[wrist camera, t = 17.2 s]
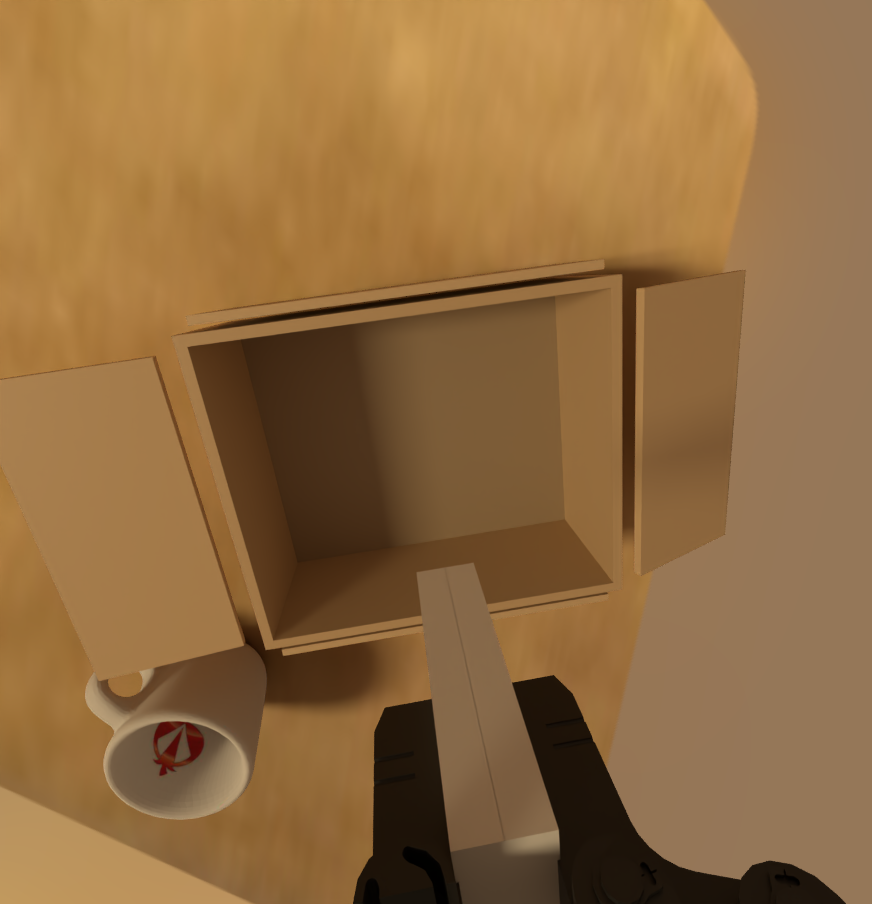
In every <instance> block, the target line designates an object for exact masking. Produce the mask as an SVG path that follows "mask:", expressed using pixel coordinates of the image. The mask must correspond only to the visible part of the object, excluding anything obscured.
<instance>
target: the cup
mask: <svg viewBox="0 0 872 904" xmlns="http://www.w3.org/2000/svg"><path fill="white" fill-rule="evenodd" d="M139 672H140V673H141V675H142V678H143V685H142V688H141V690H140V692H139V693H138V694H136V695H134V696H131V697H121V696H118V695H116V694H115V693H113V692H112V691H111V689H110V688H109V685H108V679H106V680H102V681H99V680H98V678H97V676H96V674H95V672H94V673H93V674H92V676H91V678H90V679H89V681H88V684H87V687H86V692H85V699H86V702H87V705H88V706H89V708H90V710H91V711H92V712H93V713H94V714H95V715H96V716H98V717H99V718H100V719H101V720H103V721H104V722H106V723H107V724H109V725H110V726H111V727H112V728H113V729H114V736H113V737H112V739H111V741H110V742H109V744H108V746H107V749H106V752H105V756H104V773H105V776H106V780H107V782H108V784H109V786H110V787H111V789H112V790H113V791H114V793H115V794H116V795H117V796H118V797H119V798H120V799H121V800H122V801H124V802H125V803H126V804H128V805H129V806H131V807H133V808H134V809H136V810H138V811H140V812H143V813H146V814H149V815H152V816H155V817H160V818H166V819H193V818H199V817H204V816H207V815H210V814H213V813H216V812H218V811H220V810H222V809H224V808H226V807H228V806H229V805H231V804H232V803H233V802H234V801H236V800H237V799H238V798H239V797H240V796H241V795H242V793H243V792H244V791H245V789H246V788H247V786H248V784H249V782H250V780H251V778H252V774H253V770H254V764H255V758H256V752H257V746H258V739H259V733H260V727H261V720H262V714H263V708H264V701H265V695H266V687H267V674H266V668H265V665H264V663H263V660H262V659H261V657H260V656H259V654H258V653H257V652H256V651H255V650H254V649H253V648H252V647H251V646H249V645H248V644H246V643H244V646H241V647H237V648H233V649H228V650H224V651H220V652H216V653H212V654H208V655H204V656H200V657H196V658H192V659H188V660H183V661H179V662H175V663H171V664H167V665H163V666H159V667H155V668H151V669H147V670H143V671H139Z"/></svg>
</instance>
